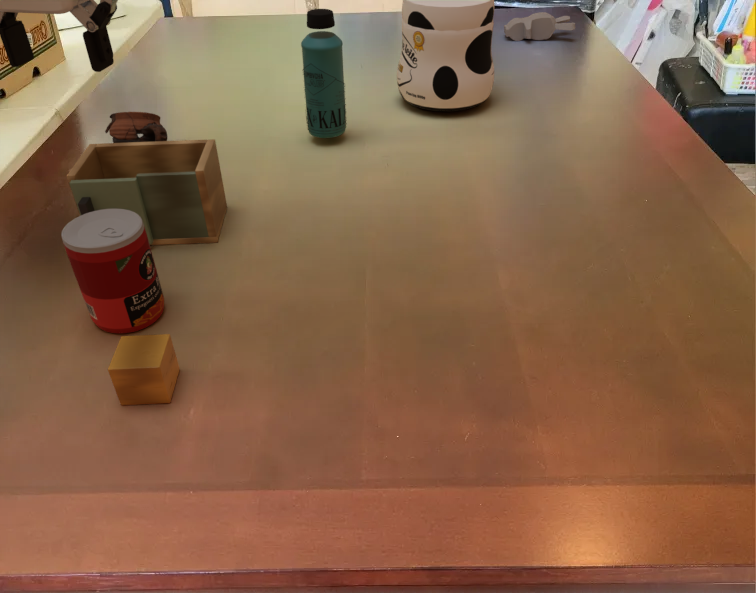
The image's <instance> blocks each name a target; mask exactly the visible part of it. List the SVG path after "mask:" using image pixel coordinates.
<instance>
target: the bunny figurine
mask: <svg viewBox="0 0 756 593" xmlns="http://www.w3.org/2000/svg"><path fill="white" fill-rule="evenodd" d="M570 21H571V16H570V15H562V16H559V17H555V16H553V15H552V14H551V13H549V12H545V11H544V12H542V11H541V12H534V13H532V14H530V15H528V16H525V17H514V18H512V19H511V20H509V21H508V23H507V24H504V25H503V32H504V34H505V37H507V38H508V37H509V38H510V39H511V40H513V41H514V42H515V41H516V42H520V41H522V40H524V39H528V40H534V41H543V40H546V41H547V40H549V39H550V38H551V37H552V35H553V34H554V32H555V31H556V30H558V31H559V30H560V31H575V30H576V23H575V22H570Z"/></svg>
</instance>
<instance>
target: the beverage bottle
mask: <svg viewBox="0 0 756 593" xmlns="http://www.w3.org/2000/svg"><path fill="white" fill-rule="evenodd" d="M334 15H335V14H334V11H333V10H331V9H330V8H329V9H328V8H313V9H309V10H308V11H306V27H307V28H308V29H310V30H318V31H312V32H309V33H308V34H307V35H306V36H305V37H304V38H303V39H302V40H301V42H300V47H301V55H302V76H303V88H304V90H303V91H304V99H305V109H304V110H305V112H306V115H305V119H306V125H307V130H308V133H309V135H311V136H312V137H315V138H319V139H331V138H337V137H339V136H341V135H343V134H344V133H345V132H346V129H347V125H348V123H347V118H348V116H347V109H346V106H347V103H346V94H347V93H346V85H345V76H344V75H345V74H344V57H343V56H344V54H343V40H342V39H341V38H340V37H339V36H338V35H337V34H336V33H334V32H332V31H328V29H331V28H333V27H336V26H335V25H336V24H335V23H336V22H335V16H334ZM326 30H327V31H326Z"/></svg>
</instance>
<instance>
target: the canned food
mask: <svg viewBox="0 0 756 593" xmlns="http://www.w3.org/2000/svg"><path fill="white" fill-rule="evenodd" d="M60 236H61V239H62V244H63V246H64V250H65V252H66V256H67V258H68V260H69V263H70V266H71V269H72V271H73V274H74V276H75V279H76V282H77V285H78V288H79V290H80V293H81V296H82V298H83V301H84V303H85V304H84V305H85V306H86V309H87V311H88V314H89V317H90V319H91V320H92V322H93V323H94V324H95V325H96V326H97V327H98V329H100V330H101V331H104V332H107V333H111V334H129V333H135V332H138V331H141V330H143V329H146V328H148V327H150V326H152V325H153V324H154V323H155V322H157V321H158V320H159V319H160V318H161V316H162V314H163V312H164V310H165V297H164V294H163V290H162V289H163V288H162V286H161V282H160V277H159V274H158V271H157V267H156V264H155V259H154V256H153V252H152V248H151V245H150V244H149V241H148V237H147V233H146V230H145V227H144V224H143V222H142V219H141V217H140V216H139V215H138V214H136V213H135V212H132V211H130V210H125V209H103V210H97V211H93V212H89V213H86V214H84V215H81V216H80V215H79V216H77V217H75V218H73V219H72V220H70V221H69V222H68V223H66V224H65V226H64V227H63V229H62V230H61V235H60Z"/></svg>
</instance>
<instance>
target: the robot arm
mask: <svg viewBox="0 0 756 593" xmlns="http://www.w3.org/2000/svg"><path fill="white" fill-rule="evenodd" d="M118 1H119V0H99V3H97V1H95V0H0V39H1V43H2V46H3V48H4V50H5V53H6V57H7V59H8V62H9V65H10V66H11V68H19V67H21V66H22V65H25V64H26V63H29V62H30V61H32V60H33V59H35V55H34V51H33V49H32V45H31V41H30V40H29V36H28V33H27V30H26V27H25V24H24V23H23V20H17V17H18V14H43V15H44V14H45V15H62V14H63V15H64V14H67V13H70V14H71V15H72V16H73V17H74V18H75V19H76V20H77V21H78V22H79V23H80V24H81V25H82V26H83V27H84V28H85V29H86V30H85V31H84V32H82V38H83V41H84V42H83V43H84V45H85V50H86V53H87V56H88V59H89V63H90V67H91V69H92V71H93V72H95V73H101V72H102V71H105V70H106V69H107V68H110V67H111V66H112V65H113V64H114V61H115V60H114V51H113V47H112V44H111V39H110V35H109V32H108V27H107V26H109V25H110V24H111V19H112V18H113V16H114V15H115V14H116V12H117V9H118V4H117V3H118Z"/></svg>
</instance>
